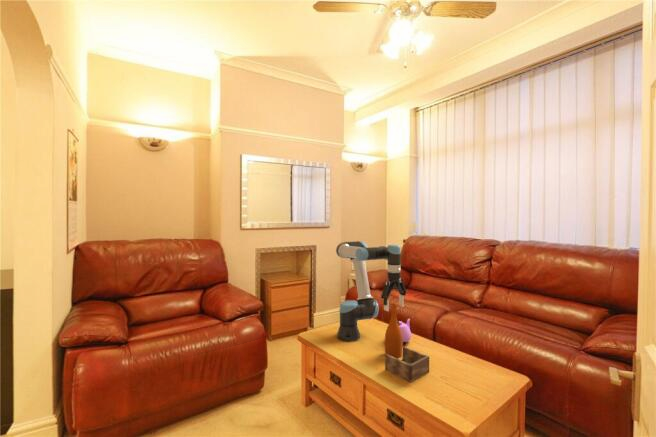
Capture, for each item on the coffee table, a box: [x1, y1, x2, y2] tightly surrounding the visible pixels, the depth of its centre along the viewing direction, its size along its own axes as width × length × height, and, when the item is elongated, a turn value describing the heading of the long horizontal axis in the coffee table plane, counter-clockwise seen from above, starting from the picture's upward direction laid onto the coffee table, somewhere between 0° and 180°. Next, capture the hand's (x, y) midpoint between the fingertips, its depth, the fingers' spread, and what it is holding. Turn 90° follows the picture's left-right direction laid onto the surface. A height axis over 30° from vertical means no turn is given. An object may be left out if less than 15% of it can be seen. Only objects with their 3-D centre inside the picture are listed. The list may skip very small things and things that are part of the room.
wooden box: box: [384, 345, 430, 383], centre depth 163 cm, size 16×16×8 cm
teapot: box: [398, 318, 412, 346], centre depth 202 cm, size 20×14×12 cm
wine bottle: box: [384, 303, 403, 359], centre depth 181 cm, size 10×10×30 cm
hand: (394, 308), depth 181 cm, fingers open, 13 cm apart
